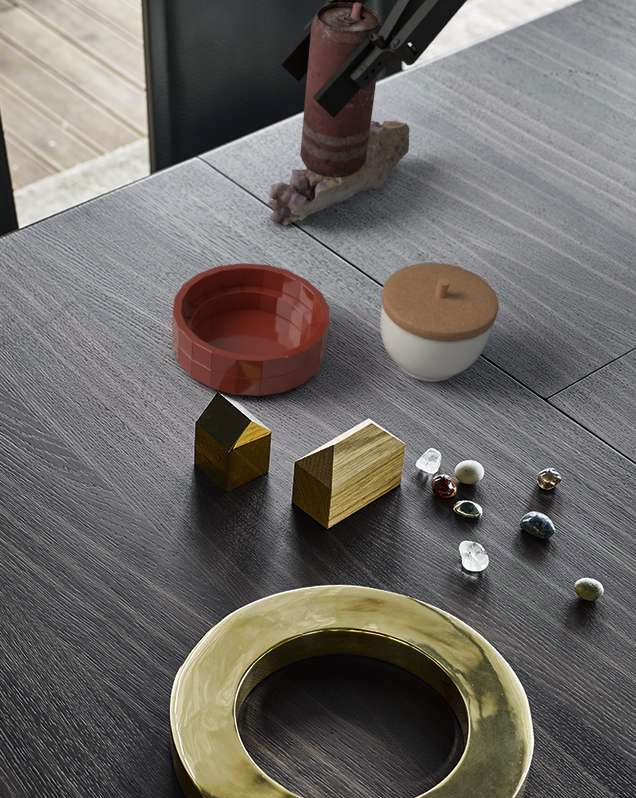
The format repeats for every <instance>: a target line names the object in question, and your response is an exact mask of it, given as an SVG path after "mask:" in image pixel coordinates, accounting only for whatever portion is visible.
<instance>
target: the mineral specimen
mask: <svg viewBox="0 0 636 798" xmlns="http://www.w3.org/2000/svg"><path fill="white" fill-rule="evenodd" d="M410 129H411V128H410V127H409V125H408V123H406V122H400V121H398V120H397V119H395V120H383V122H382V123H380V122H379V121H375V120H371V126H370V133H369V141H368V149H367V156H366V162H365V164H364V165H363V166H362V167H361V169H360V170H359V171H358V172H357V173H355V174H353V175H351V176H347V177H339V178H332V177H325V176H321V175H318V174H316V173H314V172H312V171H310V170H309V169H308V168H307V167H306V166H305V168H306V169H291V171H292V173H291V176H290V179H289V184H288V183H285V182H283V181H279V182H278V183H276V184H273V185H271V186H270V192H269V195H268V196H269V199H271V200H269V201H268V202H267V204H268V206H270V207H271V209H272V213H271V214H270V220H271V221H272V222H274V223H277V224H278V223H280V224H282V225H284V226H288V225H290V224H291V223H294V222H296V221H298V220H299V221H303V220H305V218H307V217H308V216H310V215H311V214H315V213H316V212H319V211H322V210H325V209H326V208H328V207H329V206H332V205H337V204H339V203H341V202H343V201H346V200H348V199H350V198H351V197H352V196H354V195H356V194H357V193H364V192H367V191H369V190H372V189H379V188H381V187H382V186H383V185H384V184H385V183H386V180H387V179H388V178H389V176H390V175H391V174H392V173H393V171H394V170H395V168H396V167H397V165H398V164H399V163H400V161H401V160H402V159H403V158H404V157H405V156H406V155H407V154H408V153H409V151H410V150H409V149H410Z"/></svg>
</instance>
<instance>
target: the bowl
mask: <svg viewBox="0 0 636 798" xmlns="http://www.w3.org/2000/svg"><path fill="white" fill-rule="evenodd" d="M330 316H331V315H330V307H329V304H328V302H327V300H326V298H325V297H324V295H323V293H322V292H321V290H319V289H318V288H317V287H315V286H314V285H313V284H312V282H310V281H309V280H307V279H306V278H304V277H302V276H301V275H299V274H296V273H294V272H292V271H290V270H287V269H284V268H281V267H276V266H272V265H269V264H264V263H263V264H262V263H261V264H260V263H246V262H245V263H244V262H241V263H233V264H224V265H218V266H215V267H213V268H210V269H206V270H204V271H201V272H199V273H197V274H196V275H194V276H193V277H191V278H189V279H188V280H187V281H186V282H184V283H182V285H181V287H180V288H179V290H178V291H177V293H176V294H175V296H174V298H173V306H172V328H171V329H172V331H171V349H172V351H173V354H174V356H175V359H176V361H177V363H178V365H179V366H180V367H181V368H182V369H183V370H184V371H185V373H187V375H189V376H190V377H191V378H193V379H194V380H195V381H198V382H199V383H202V384H203V385H205V386H207V387H209V388H211V389H213V390H217V391H220V392H224V393H228V394H231V395H239V396H254V397H255V396H257V397H259V396H260V397H261V396H267V395H274V394H280V393H285V392H287V391H290V390H292V389H295V388H297V387H300V386H302V385H304V384H305V383H306V382H308V381H309V380H310V379H311V378H313V377H314V376H315V375H316V374H317V373H318V372H319V370H321V369H320V368H321V367H322V365H323V363H324V360H325V359H326V355H327V346H328V339H329V333H330V323H331V318H330Z"/></svg>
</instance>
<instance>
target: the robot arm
mask: <svg viewBox="0 0 636 798" xmlns="http://www.w3.org/2000/svg"><path fill="white" fill-rule="evenodd" d="M369 1H370V0H326V1H325V3H324V4H323V5H322V6H321V8H322V7H324V6H326V5H328V4H334V3H361V4H362V5H363V6H364V5H365V4H366V3H367V2H369ZM467 1H468V0H396V2H395V4H394V6H393V7H392V9H391V11H390V12H389V14H388V16H387V18H386V19H385V21H384V23H383V24H382V28H381V29H380V31H379V33H378V34H372V33H370V35H369V38H370V40H371V41H372V42H373V43H374V44H375V46H374V45H373V44H372V43H371V42H370V41H369V40H368V39H367V38H365V39H364V40H363V42H362V43H361V44H360V45H359V46H358V47H357V48H356V49H355V50H354V52H353V53H352V54H351V55H350V56H349V57H348V58H347V59H346V60H345V62H344V63H343V64H342V65H341V66H340V67H339V68H338V69H337V70H336V72H335V73H334V74H333V75H332V76H331V77H330V78H329V79H328V80H327V82H326V83H325V84H324V85H323V86H322V87H321V88H320V89H319V90H318V92H317V93H316V94H315V95H314V96H313V97H312V98H313V99H314V100H315V101H316V102H317V103H318V104H319V105H320V106H321V107H322V108H324V109H325V110H326V111H327V112H328V113H329V114H330V115H331V116H332V117H333V118H334V117H335V116H336V115H337V114H338V113H339V112H340V111H341V110H342V109H343V108H344V106H345V105H346V104H347V103H348V102H349V101H350V100H351V99H352V98H353V97H354V96H355V94H356V93H357V92H358V91H359V90H360V89H361V88H362V89H364V88H365V87H367V86H368V85H369V84H370V83H371V82H372V80H374V79H375V78H376V76H377V77H378V76H379V74H381V72H382V71H383V70H384V69H385V68H386V67H387V66H388V65H389V64H390V63H391V62H392V63H394V62H396V61H397V62H402V63H404V64H405V65H406V66H412V65H414V64H415V63H416V62H417V61H418V59H420V57H421V56H422V55H423V54H424V52H425V51H426V50H427V49H428V48H429V46H430V45H431V44H432V43H433V42H434V41H435V40H436V38H437V37H438V36H439V34H441V32H442V31H443V30H444V28H445V27H446V26H447V25H448V24H449V22H451V20H452V19H453V18H454V17H455V16H456V14H458V12H459V11H460V10H461V9H462V8H463V6H464V5H465V3H467ZM316 15H317V12H316V13H315V14H314V16H312V18H311V19H310V20H309V21H308V22H307V23H306V24H305V26H304V28H303V30H302V31H303V32H302V33H301V34H299V36H298V37H297V38H296V40H295V41H294V42H293V43H292V44H291V45H290V47H288V49H287V50H286V51H285V52H284V53H283V54H282V56H281V57H280V58H279V59H278V60H277V63H278V64H279V65H281V67H283V69H284V70H286V72H287V73H289V74H290V75H291V77H293V78H294V79H295V80H296V81H297V82H300V81H301V80H302V79H303V78H304V77H305V76H306V75H307V72H308V60H309V49H310V38H311V26H312V22H313V19H314V18H315V16H316ZM410 44H411V45H410Z"/></svg>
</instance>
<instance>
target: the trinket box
mask: <svg viewBox="0 0 636 798" xmlns="http://www.w3.org/2000/svg"><path fill="white" fill-rule="evenodd" d="M499 304H500V303H499V299H498V296H497V294H496V292H495V289H493V287H492V286H491V285H490V284H489V283H488V282H487V281H486V280H485V279H483V278H482V277H481V276H479V275H478V274H475V273H474V272H472V271H470V270H467V269H465V268H462V267H459V266H457V265H452V264H447V263H441V262H420V263H416V264H411V265H406V266H405V267H404V266H403V267H402V268H400V269H398V270H396V271H395V272H393V273H392V274H391V275H390V276H389V277H388V278H387V280H385V282H384V285H383V286H382V293H381V307H380V315H379V317H380V318H379V327H380V337H381V340H382V343H383V346H384V349H385V351H386V352H387V355H389V357H390V359H391V360H392V361H393V362H394V363H395V364H396V365H397V366H398V368H399V369H400V371H402V372H403V373H404V374H405V375H407V376H408V377H411V378H412V379H416V380H418V381H422V382H429V383H434V382H435V383H436V382H442V381H446V380H449V379H451V378H452V377H453V376H456V375H459V374H460V373H462V372H464V371H465V370H466V369H468V368H470V367H471V366H472V365H473V364H474V363H475V362H476V361H477V359H479V358H480V356H481V355H482V353H483V351H484V350H485V347H486V346H487V344H488V342H489V339H490V337H491V333H492V331H493V327H494V324H495V322H496V319H497V316H498V312H499V308H500V307H499V306H500V305H499Z"/></svg>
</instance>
